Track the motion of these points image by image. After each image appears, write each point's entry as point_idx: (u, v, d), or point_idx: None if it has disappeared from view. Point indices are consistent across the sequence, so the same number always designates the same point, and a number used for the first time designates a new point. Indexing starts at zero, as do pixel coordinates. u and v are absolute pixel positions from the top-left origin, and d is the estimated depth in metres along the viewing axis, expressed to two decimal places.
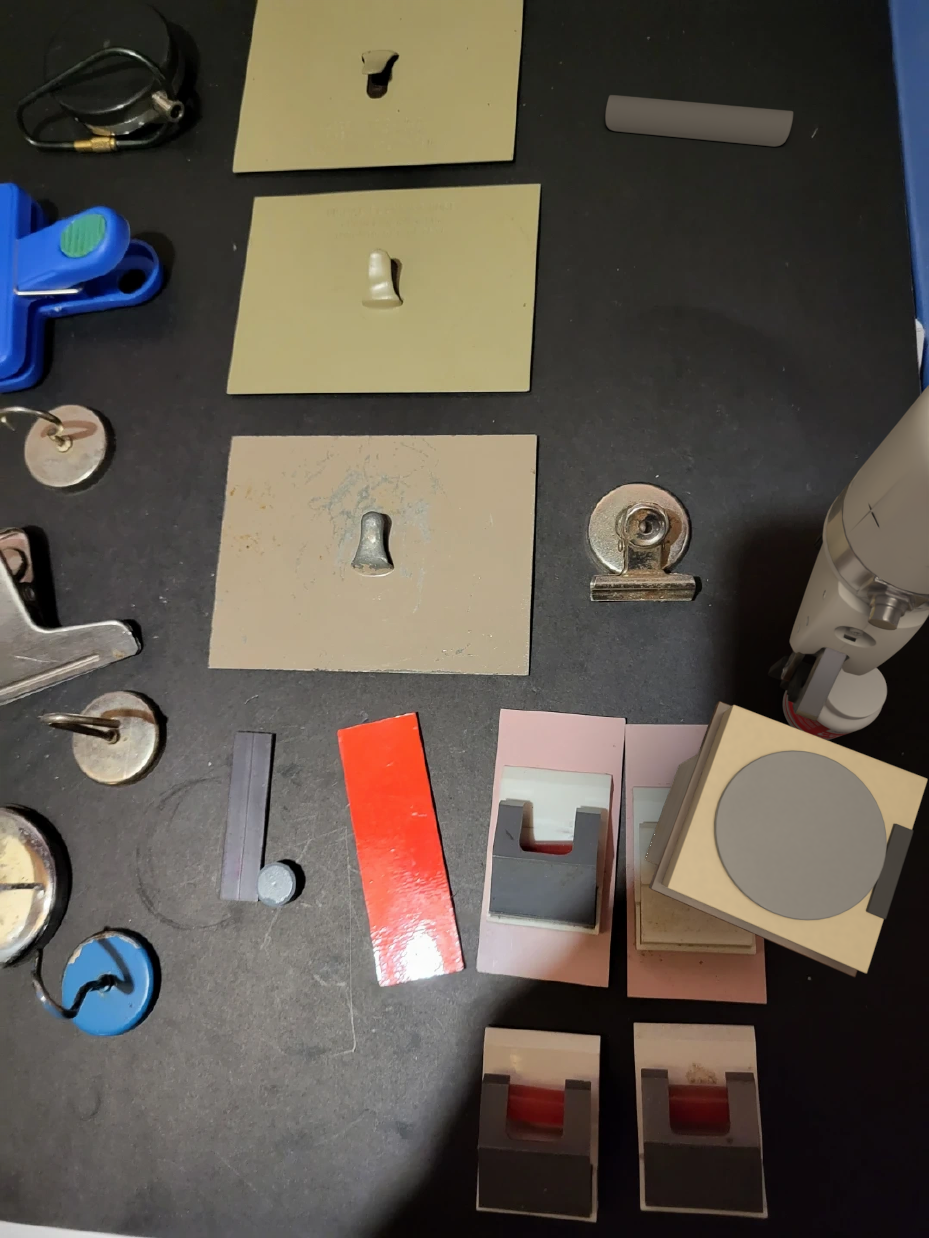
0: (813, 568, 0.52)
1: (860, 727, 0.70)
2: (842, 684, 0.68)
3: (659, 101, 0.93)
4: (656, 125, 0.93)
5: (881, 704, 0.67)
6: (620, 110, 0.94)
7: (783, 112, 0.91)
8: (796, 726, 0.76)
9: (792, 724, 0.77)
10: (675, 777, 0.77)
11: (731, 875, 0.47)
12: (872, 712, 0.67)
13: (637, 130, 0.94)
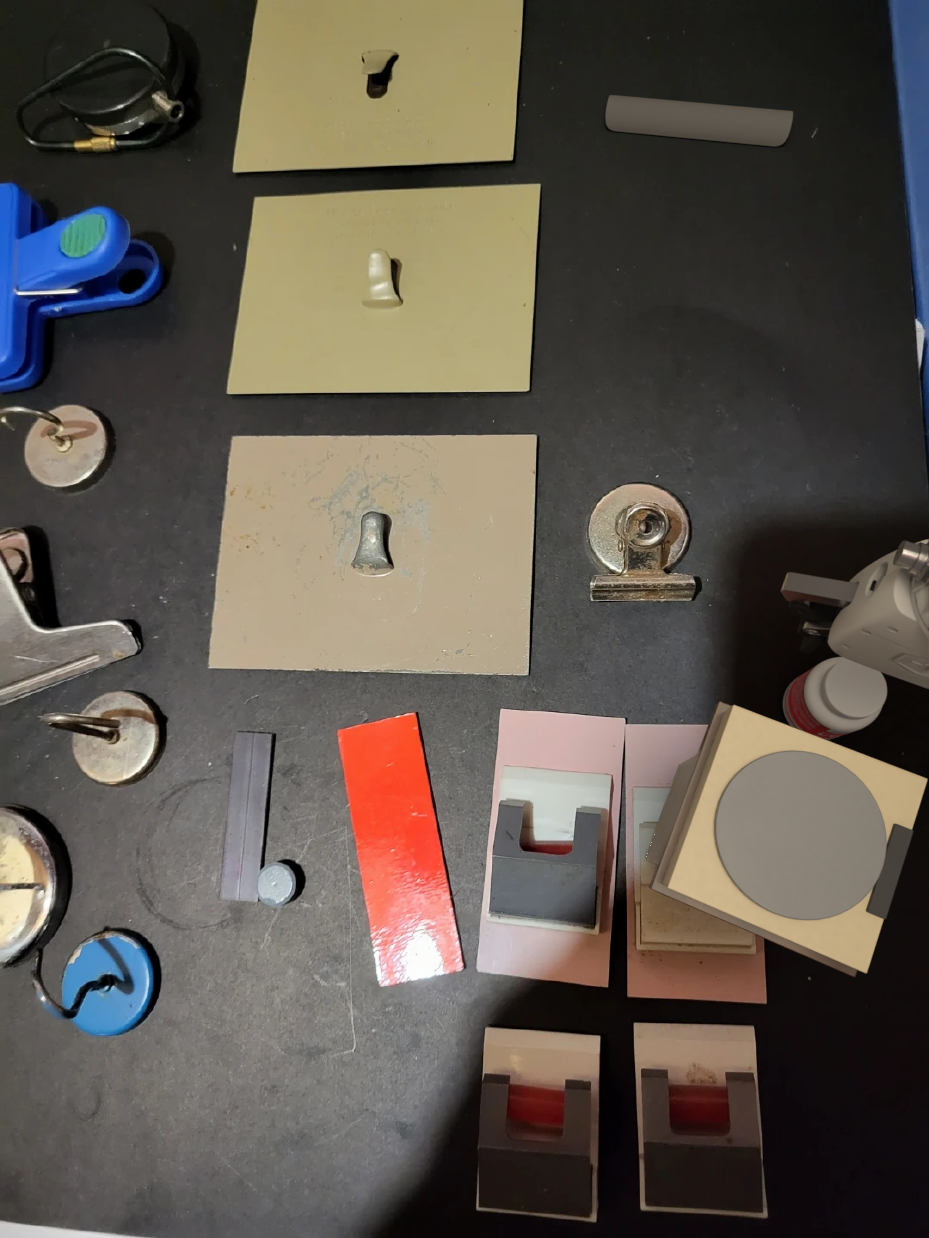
0: None
1: (860, 727, 0.70)
2: (842, 684, 0.68)
3: (659, 101, 0.93)
4: (656, 125, 0.93)
5: (881, 704, 0.67)
6: (620, 110, 0.94)
7: (783, 112, 0.91)
8: (796, 726, 0.76)
9: (792, 724, 0.77)
10: (675, 777, 0.77)
11: (731, 875, 0.47)
12: (872, 712, 0.67)
13: (637, 130, 0.94)
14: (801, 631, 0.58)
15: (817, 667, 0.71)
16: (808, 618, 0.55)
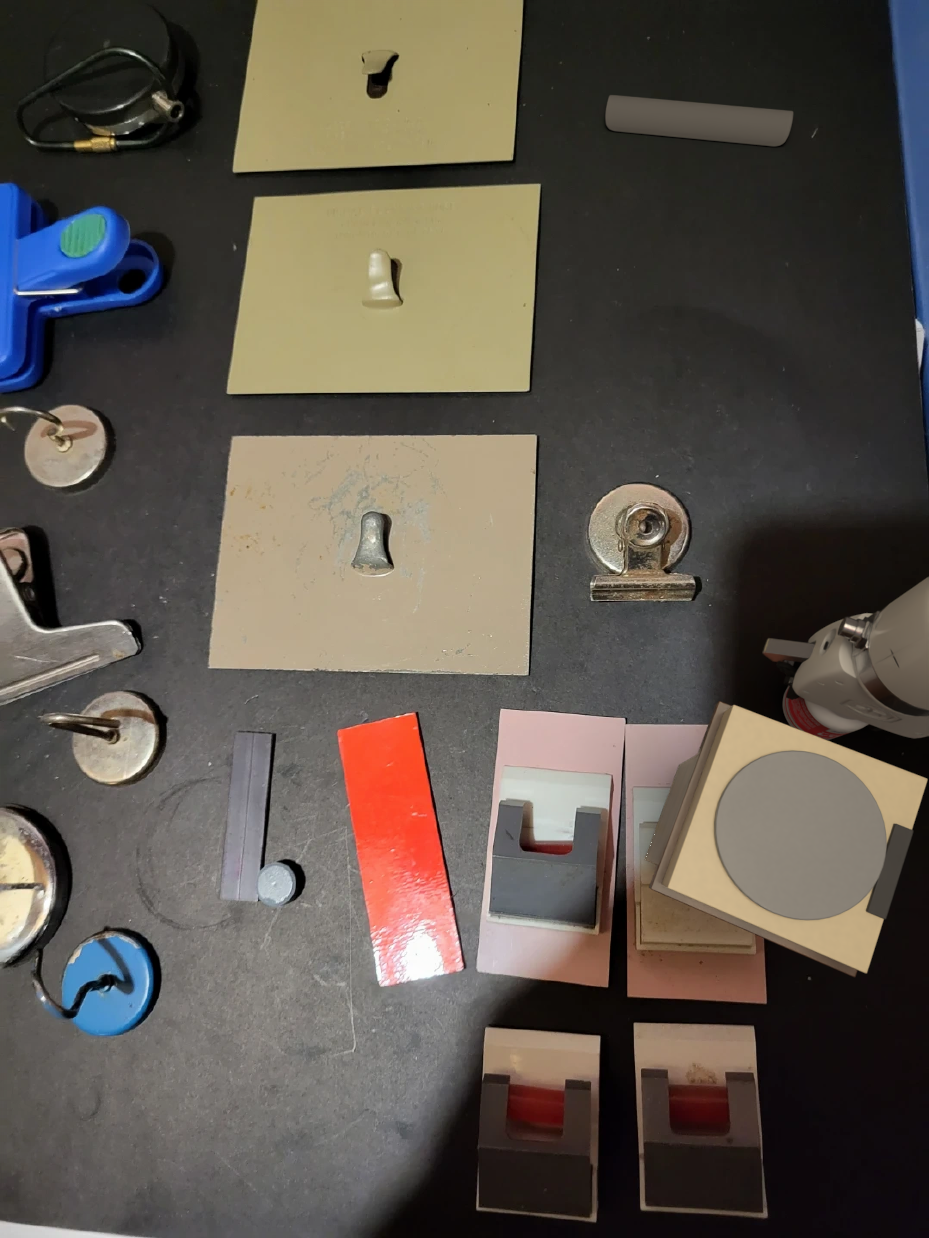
0: None
1: (860, 727, 0.70)
2: None
3: (659, 101, 0.93)
4: (656, 125, 0.93)
5: None
6: (620, 110, 0.94)
7: (783, 112, 0.91)
8: (796, 726, 0.76)
9: (792, 724, 0.77)
10: (675, 777, 0.77)
11: (731, 875, 0.47)
12: None
13: (637, 130, 0.94)
14: (787, 682, 0.71)
15: None
16: (792, 674, 0.68)
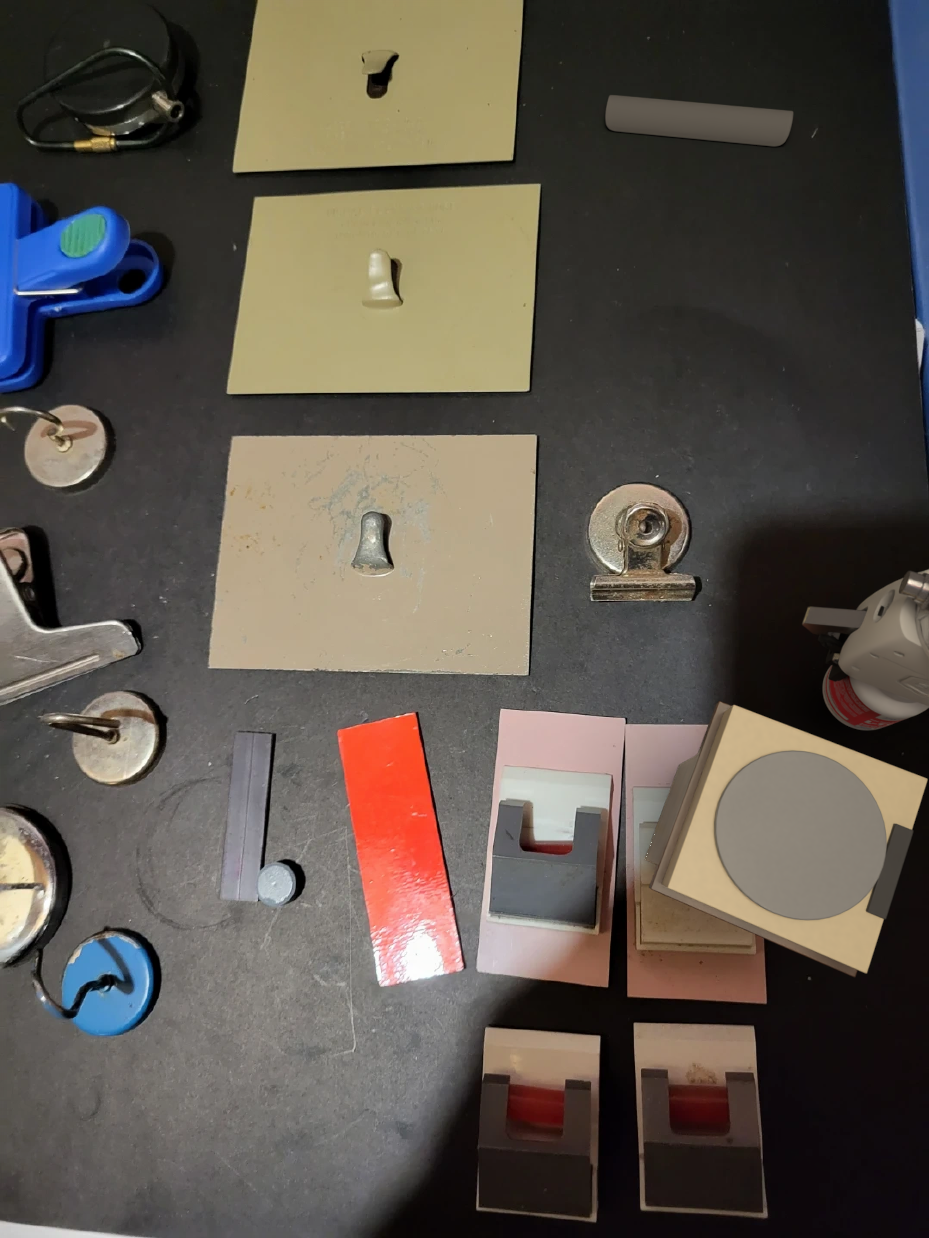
0: None
1: (917, 712, 0.59)
2: None
3: (659, 101, 0.93)
4: (656, 125, 0.93)
5: None
6: (620, 110, 0.94)
7: (783, 112, 0.91)
8: (839, 714, 0.66)
9: (834, 711, 0.67)
10: (675, 777, 0.77)
11: (731, 875, 0.47)
12: None
13: (637, 130, 0.94)
14: (830, 661, 0.61)
15: None
16: (837, 650, 0.58)
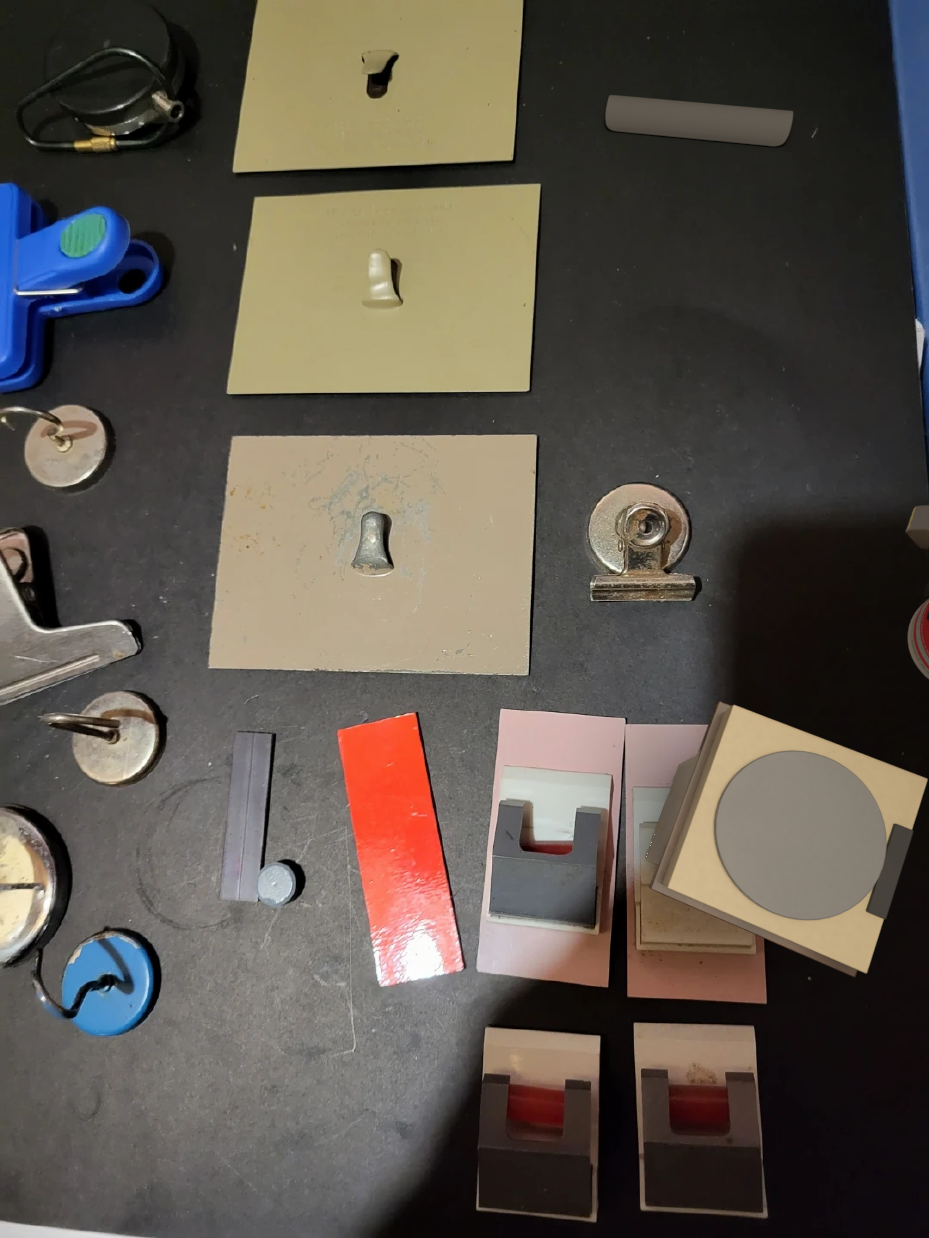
0: None
1: None
2: None
3: (659, 101, 0.93)
4: (656, 125, 0.93)
5: None
6: (620, 110, 0.94)
7: (783, 112, 0.91)
8: None
9: (926, 668, 0.49)
10: (675, 777, 0.77)
11: (731, 875, 0.47)
12: None
13: (637, 130, 0.94)
14: None
15: None
16: None
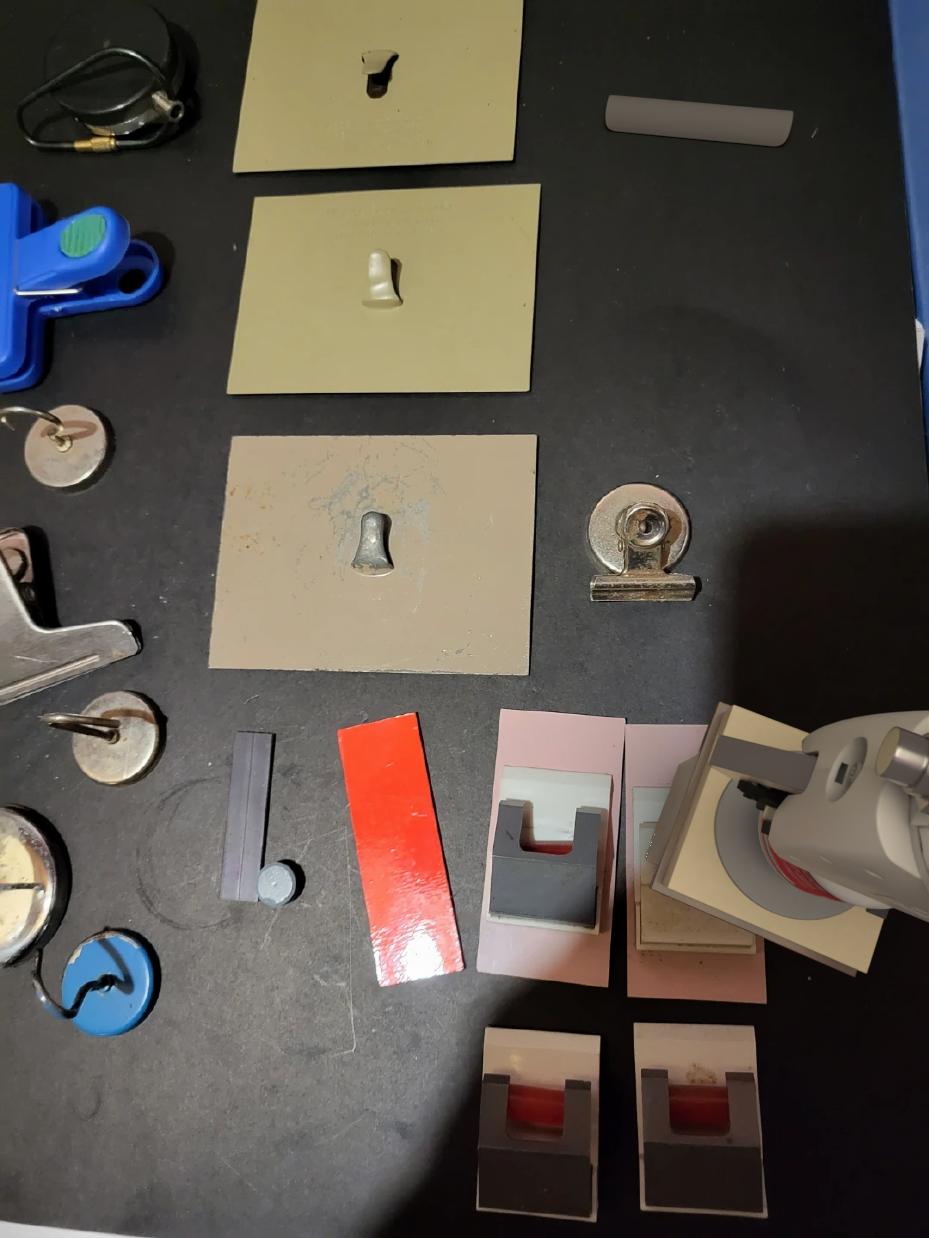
0: None
1: None
2: None
3: (659, 101, 0.93)
4: (656, 125, 0.93)
5: None
6: (620, 110, 0.94)
7: (783, 112, 0.91)
8: (781, 873, 0.42)
9: (774, 867, 0.42)
10: (675, 777, 0.77)
11: (731, 875, 0.47)
12: None
13: (637, 130, 0.94)
14: (762, 808, 0.37)
15: None
16: (770, 803, 0.34)
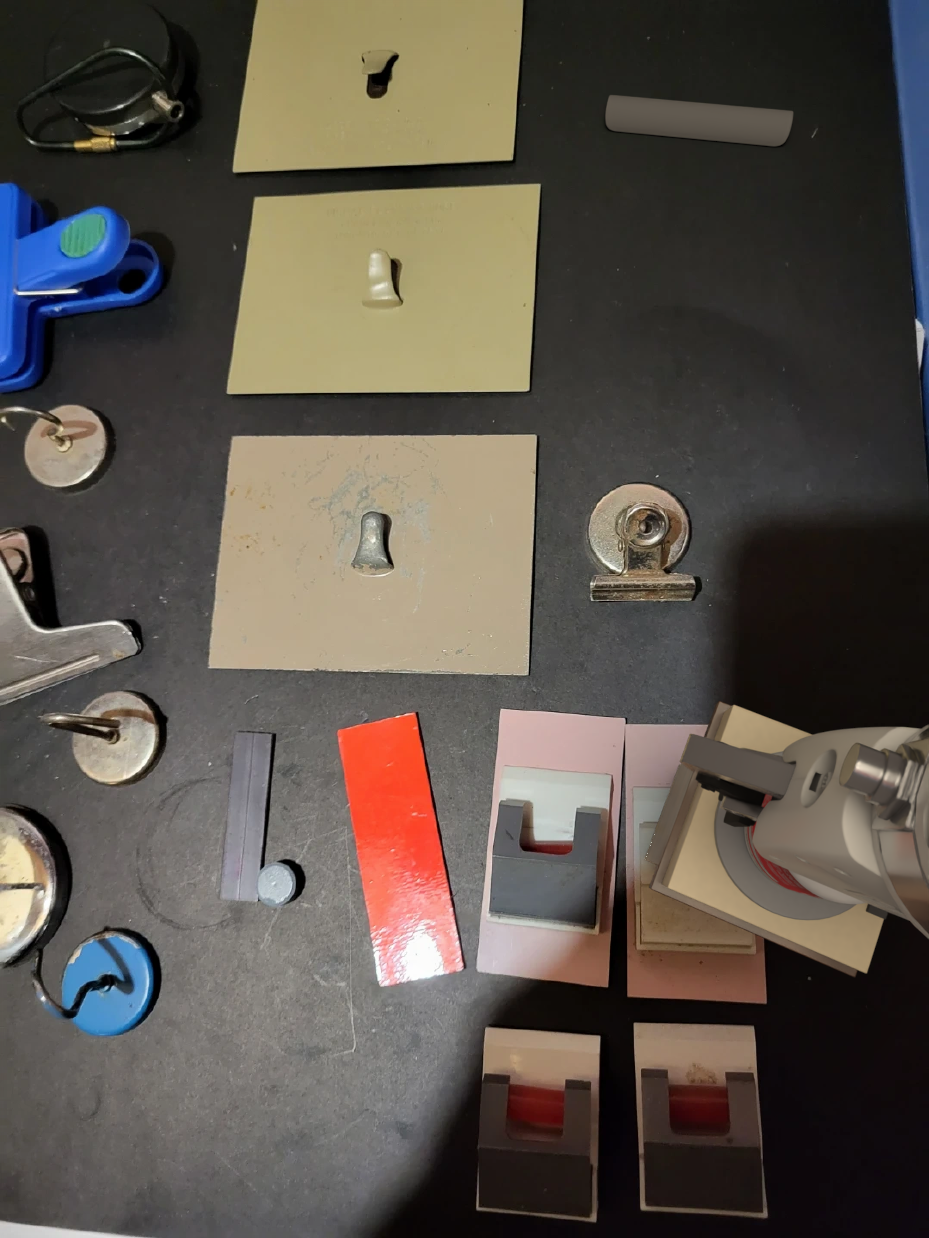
0: None
1: None
2: None
3: (659, 101, 0.93)
4: (656, 125, 0.93)
5: None
6: (620, 110, 0.94)
7: (783, 112, 0.91)
8: (765, 872, 0.45)
9: (759, 866, 0.46)
10: (675, 777, 0.77)
11: (731, 875, 0.47)
12: None
13: (637, 130, 0.94)
14: (723, 800, 0.39)
15: None
16: (727, 794, 0.36)
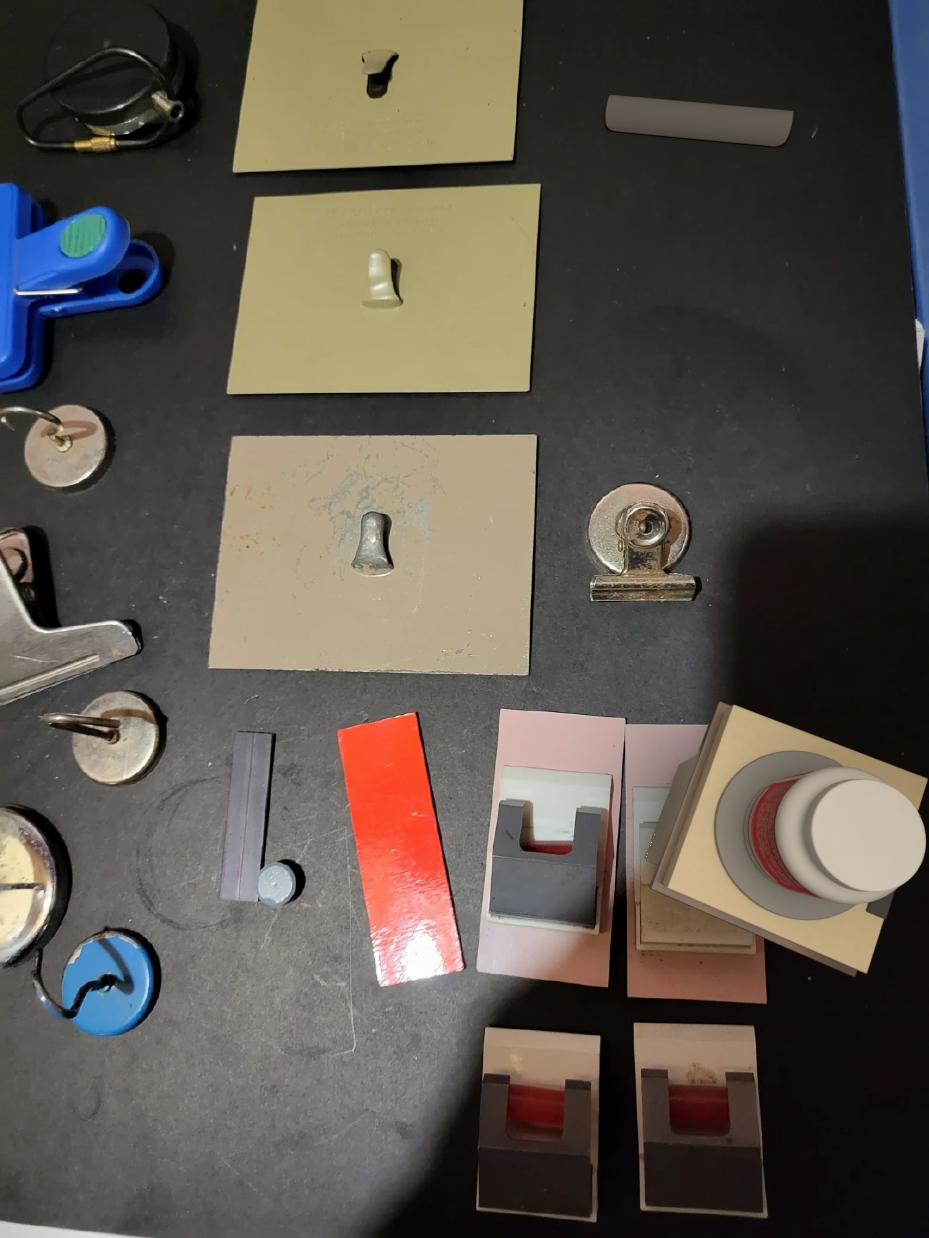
0: None
1: (875, 899, 0.39)
2: (843, 828, 0.37)
3: (659, 101, 0.93)
4: (656, 125, 0.93)
5: (915, 867, 0.36)
6: (620, 110, 0.94)
7: (783, 112, 0.91)
8: (765, 872, 0.45)
9: (759, 866, 0.46)
10: (675, 777, 0.77)
11: (731, 875, 0.47)
12: (899, 882, 0.36)
13: (637, 130, 0.94)
14: None
15: (798, 786, 0.40)
16: None
